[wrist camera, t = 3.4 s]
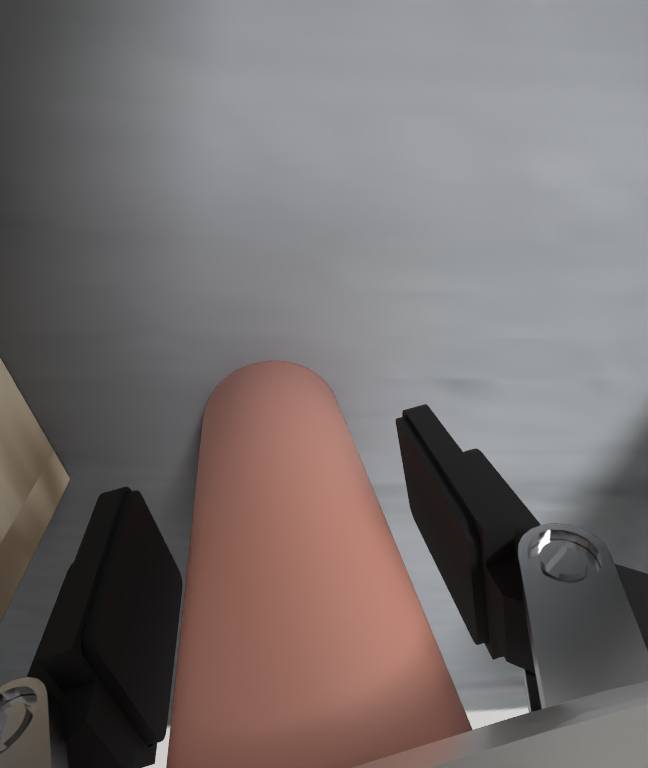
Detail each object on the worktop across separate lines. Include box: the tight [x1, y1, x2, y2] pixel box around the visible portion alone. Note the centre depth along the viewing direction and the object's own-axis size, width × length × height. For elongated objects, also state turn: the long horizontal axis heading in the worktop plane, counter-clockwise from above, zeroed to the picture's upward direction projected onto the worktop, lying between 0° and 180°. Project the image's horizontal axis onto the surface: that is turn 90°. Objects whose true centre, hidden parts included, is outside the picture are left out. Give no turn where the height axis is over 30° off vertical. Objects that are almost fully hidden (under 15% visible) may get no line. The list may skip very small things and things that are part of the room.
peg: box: [167, 361, 472, 768], centre depth 9 cm, size 4×4×12 cm
